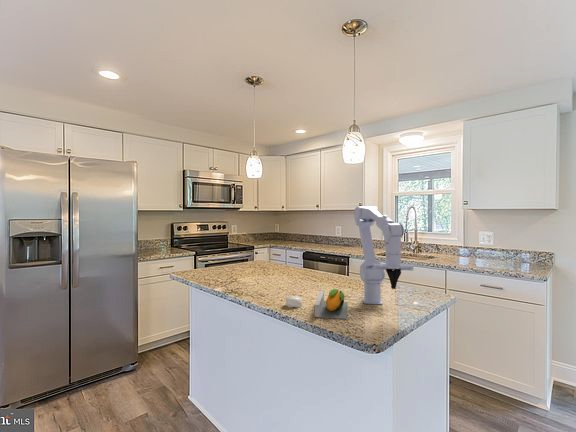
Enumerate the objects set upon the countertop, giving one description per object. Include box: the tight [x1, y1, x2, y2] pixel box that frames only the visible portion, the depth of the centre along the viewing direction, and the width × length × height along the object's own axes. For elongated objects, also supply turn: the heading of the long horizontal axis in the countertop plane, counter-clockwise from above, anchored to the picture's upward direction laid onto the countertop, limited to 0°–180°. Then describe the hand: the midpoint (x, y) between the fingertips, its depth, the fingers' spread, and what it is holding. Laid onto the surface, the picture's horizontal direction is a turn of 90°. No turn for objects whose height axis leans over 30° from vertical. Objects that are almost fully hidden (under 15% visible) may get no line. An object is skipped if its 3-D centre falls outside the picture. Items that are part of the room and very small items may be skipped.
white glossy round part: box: [285, 295, 303, 308], centre depth 132 cm, size 7×7×4 cm
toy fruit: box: [325, 288, 346, 312], centre depth 125 cm, size 7×8×20 cm
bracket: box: [314, 290, 348, 321], centre depth 126 cm, size 22×12×5 cm, turn 168°
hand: (393, 288), depth 119 cm, fingers closed
